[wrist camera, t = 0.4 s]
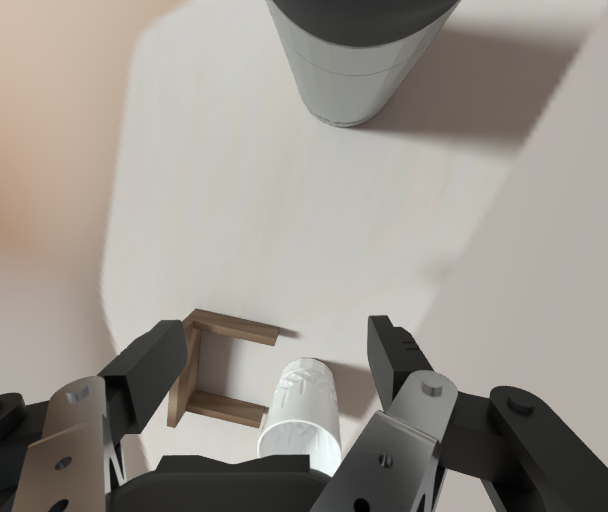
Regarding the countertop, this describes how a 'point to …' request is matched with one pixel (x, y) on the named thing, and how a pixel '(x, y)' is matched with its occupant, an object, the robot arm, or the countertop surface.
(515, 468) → the robot arm
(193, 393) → the walnut bay
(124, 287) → the countertop surface
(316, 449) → the white cup
